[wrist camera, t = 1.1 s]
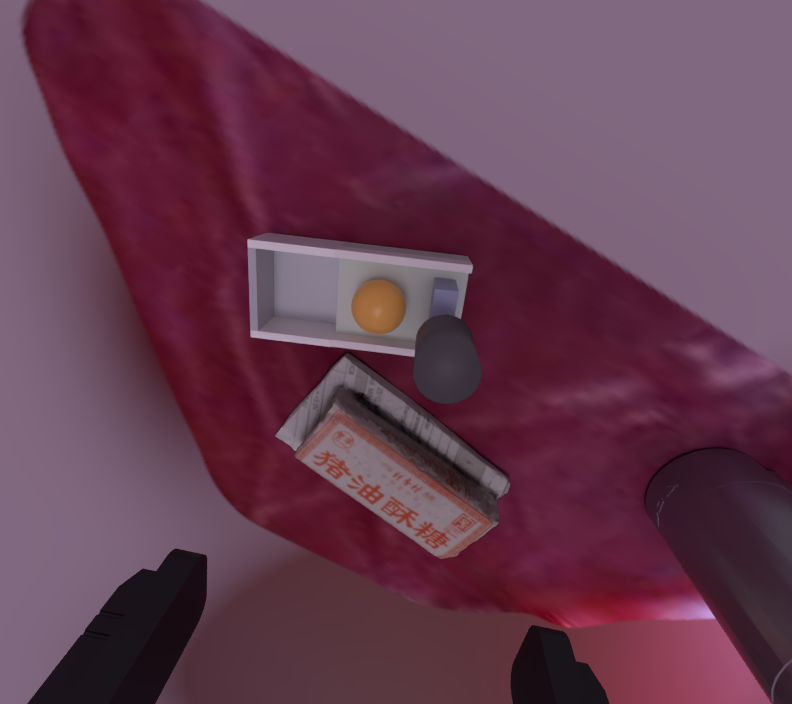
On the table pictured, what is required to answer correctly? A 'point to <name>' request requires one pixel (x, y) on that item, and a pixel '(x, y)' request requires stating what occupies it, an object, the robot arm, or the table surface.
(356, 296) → the ball
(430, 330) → the striker
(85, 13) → the table surface
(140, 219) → the table surface
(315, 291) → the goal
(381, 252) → the tray
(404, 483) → the packaged product
